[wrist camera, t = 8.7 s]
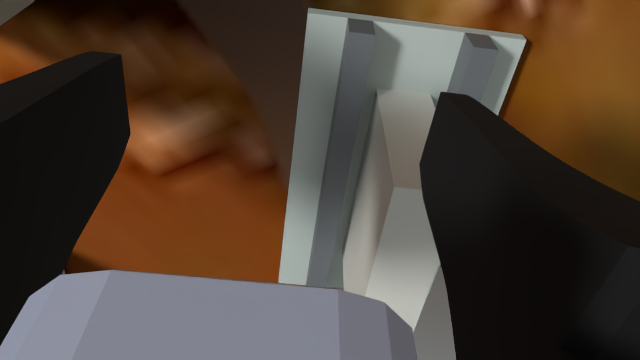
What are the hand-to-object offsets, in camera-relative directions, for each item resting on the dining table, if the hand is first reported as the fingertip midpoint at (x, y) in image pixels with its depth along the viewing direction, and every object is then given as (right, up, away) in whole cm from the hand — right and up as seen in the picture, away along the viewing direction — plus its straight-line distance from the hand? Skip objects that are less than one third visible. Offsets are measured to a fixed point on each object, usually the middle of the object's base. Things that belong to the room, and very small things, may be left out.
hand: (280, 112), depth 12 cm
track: (+4, -1, +14) cm, 15 cm away
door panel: (+4, -2, +14) cm, 14 cm away
